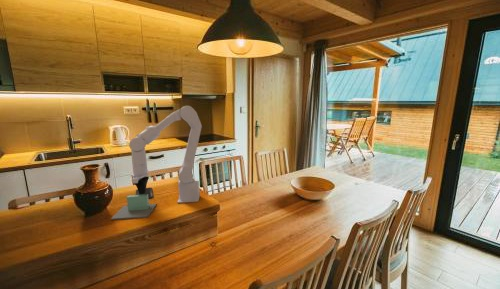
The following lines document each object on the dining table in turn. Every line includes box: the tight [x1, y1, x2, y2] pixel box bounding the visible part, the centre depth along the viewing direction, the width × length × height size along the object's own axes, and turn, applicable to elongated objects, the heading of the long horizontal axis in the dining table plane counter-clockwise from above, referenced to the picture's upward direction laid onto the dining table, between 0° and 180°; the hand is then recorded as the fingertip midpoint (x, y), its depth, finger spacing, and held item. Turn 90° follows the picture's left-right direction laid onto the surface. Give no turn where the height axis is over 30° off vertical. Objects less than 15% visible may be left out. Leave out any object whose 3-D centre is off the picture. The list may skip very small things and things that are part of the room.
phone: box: [135, 187, 154, 200], centre depth 118 cm, size 8×1×15 cm
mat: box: [110, 203, 157, 221], centre depth 98 cm, size 14×12×1 cm
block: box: [126, 194, 150, 211], centre depth 99 cm, size 8×2×6 cm, turn 96°
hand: (142, 193), depth 104 cm, fingers closed
